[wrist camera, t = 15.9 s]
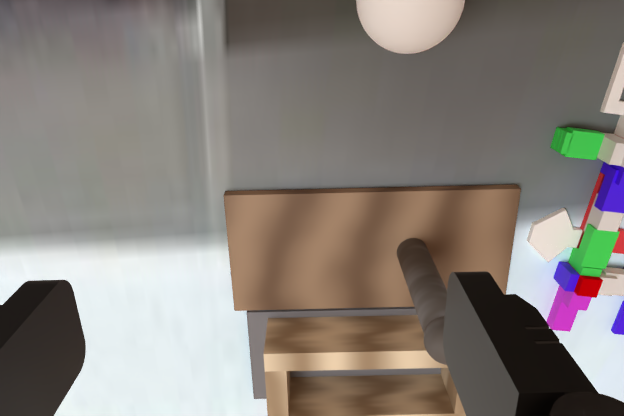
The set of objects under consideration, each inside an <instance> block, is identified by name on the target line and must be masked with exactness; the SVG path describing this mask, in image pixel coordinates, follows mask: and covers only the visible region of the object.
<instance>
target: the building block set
mask: <svg viewBox="0 0 624 416" xmlns="http://www.w3.org/2000/svg"><path fill="white" fill-rule="evenodd" d="M623 88H624V42H623V44H622V47H621V50H620V53H619V56H618V59H617V62H616V65H615V68H614V71H613V74H612V77H611V80H610V83H609V86H608V89H607V92H606V95H605V97H604V100H603V103H602V106H601V109H600V111H601V112H603V113H611V114H619V115H620V118H619V120H618V123H617V126H616V129H615V132H614V134H610V133H601V132H599V131H596V130H587V129H579V128H571V127H566V128H559V127H557V128H556V131H555V134H554V137H553V141H552V144H551V147H550V148H552V149H554V150H555V151H557V152H559V153H560V154H562V155H563V156H565V157H573V158H582V159H590V160H596V158H599V159H600V160H602V161H604V163H603V165H602V168H601V171H600V174H599V177H598V180H597V182H596V185H595V188H594V191H593V194H592V196H591V199H590V202H589V205H588V208H587V211H586V213H585V216H584V219H583V222H582V225H581V227H580V228H576V227H572V224H571V222H570V219H569V216H568V214H567V211H566V210H565V209H564V208H561V209H559V210H557V211H555V212H553V213H551V214H549V215H547V216H545V217H543V218H541V219H539V220H537V221H535V222H533V223H532V225H531V228H530V231H529V234H528V238H527V241H528V242H529V243H530V244H531V245H532V246H533V247H534V248H535V249H536V251H537V252H538V253H539V254H540V255H541V256H542V257H543V258H544V259H545V260H546V261H547V262H550V261H551V260H552V259H553V258H555V257H556V256H557V255H558V254H559V253H561V252H562V251H563V250H564V249H566V248H567V247H572V248H573V250H572V253H571V256H570V258H569V261H568V262H559V263H558V266H557V269H556V272H555V275H554V279H555V280H556V281H557V282H558V284H559V288H558V291H557V294H556V297H555V299H554V302H553V305H552V308H551V311H550V314H549V316H548V319H547V324H548V325H549V327H550V328H551V329H552V330H561V331H570V330H571V327H572V325H573V322H574V319H575V317H576V314H577V311H578V310H587V308H588V306H589V303H590V300H591V298H592V297H597V295H608V296H612V295H619V296H624V268H623V269H620V268H611V267H606V266H607V264H608V261H609V258H610V256H611V253H612V252H613V253H622V254H624V229H620V228H619V226H620V223H621V220H622V218H623V215H624V101H619V100H620V97H621V94H622V91H623ZM611 331H612V332H613V333H614V334H622V335H624V301H623V302H622V305H621V307H620V310H619V312H618V314H617V317H616V319H615V322H614V324H613V326H612V329H611Z"/></svg>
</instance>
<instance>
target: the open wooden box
mask: <svg viewBox="0 0 624 416" xmlns="http://www.w3.org/2000/svg"><path fill="white" fill-rule="evenodd" d="M411 368H441V374H421V375H374V376H326V377H290V371H317V370H364V369H411ZM264 369H265V383H266V397H267V411H268V416H466V414H465V411H464V409H463V406H462V403H461V401H460V398H459V395H458V393H457V390H456V387H455V385H454V382H453V379H452V377H451V374H450V371H449V369H448V366H447V365H444V364H441V363H439V362H437V361H435V360H434V359H433V358H432V357H431V356H430V355H429V354H428V352H427V351H426V349H425V346H424V333H423V330H422V327H421V324H420V321H419V318H418V316H417V315H392V316H345V317H298V318H268V322H267V330H266V338H265V346H264Z"/></svg>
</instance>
